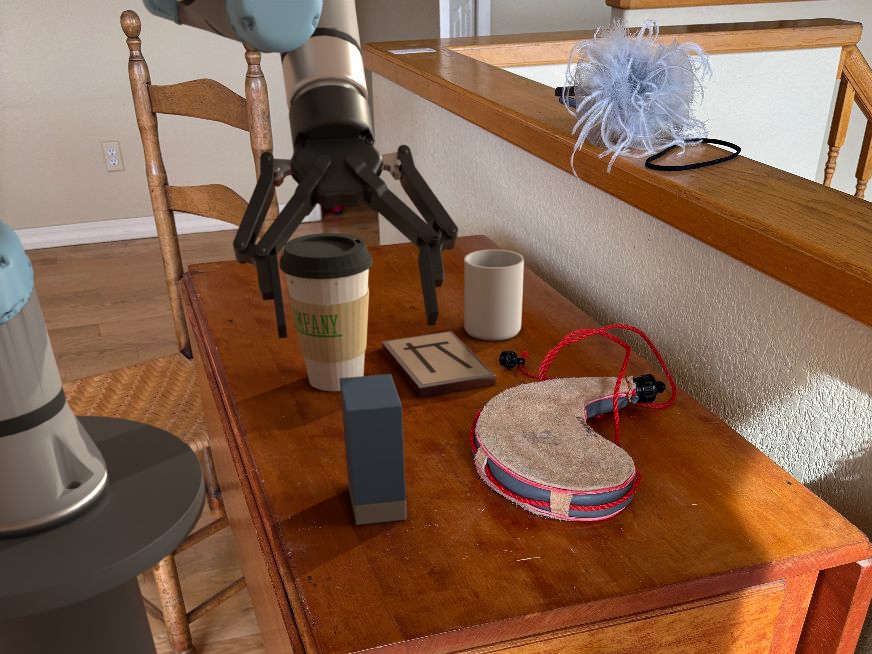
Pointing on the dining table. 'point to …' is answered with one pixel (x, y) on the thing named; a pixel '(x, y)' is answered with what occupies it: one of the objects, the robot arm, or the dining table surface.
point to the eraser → (374, 448)
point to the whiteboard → (437, 364)
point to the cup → (493, 294)
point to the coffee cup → (329, 304)
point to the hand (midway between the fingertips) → (358, 326)
